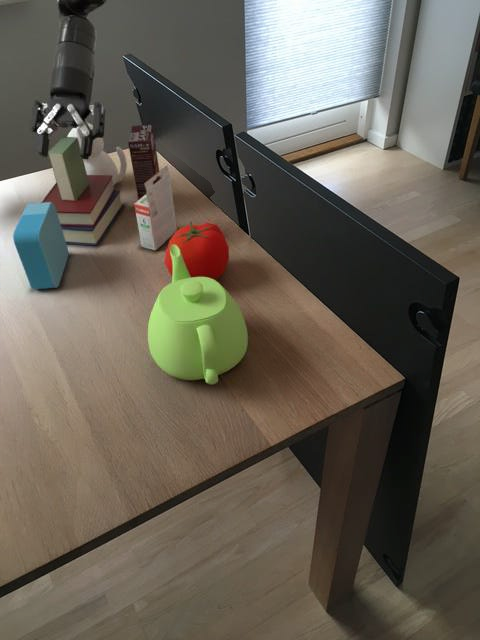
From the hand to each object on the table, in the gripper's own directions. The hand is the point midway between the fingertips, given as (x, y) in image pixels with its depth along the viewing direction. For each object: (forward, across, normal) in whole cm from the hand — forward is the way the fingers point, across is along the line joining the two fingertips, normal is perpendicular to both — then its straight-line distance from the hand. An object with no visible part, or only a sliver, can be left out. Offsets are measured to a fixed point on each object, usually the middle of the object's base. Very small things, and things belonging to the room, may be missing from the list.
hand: (63, 156), depth 103 cm
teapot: (+34, +33, -12) cm, 49 cm away
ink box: (+13, +18, +9) cm, 24 cm away
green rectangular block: (+5, 0, +6) cm, 8 cm away
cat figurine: (-2, -2, +24) cm, 24 cm away
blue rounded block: (+22, +1, 0) cm, 23 cm away
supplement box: (+3, +12, +19) cm, 22 cm away
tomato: (+21, +29, +1) cm, 36 cm away
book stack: (+10, 0, +12) cm, 15 cm away
